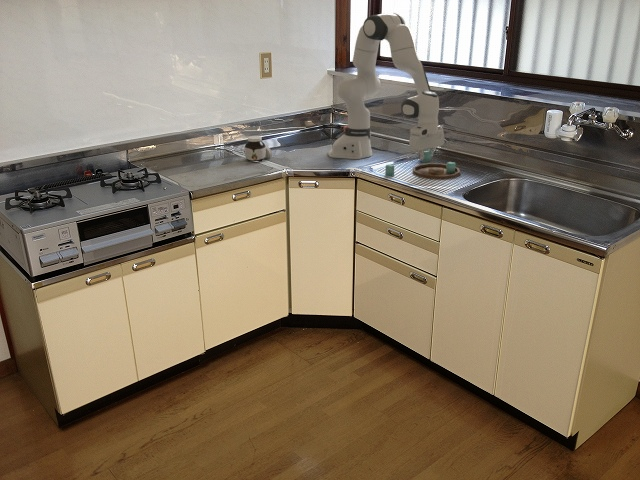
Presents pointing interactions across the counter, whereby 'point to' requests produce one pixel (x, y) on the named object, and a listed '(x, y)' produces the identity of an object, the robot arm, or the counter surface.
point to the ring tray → (434, 171)
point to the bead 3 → (450, 167)
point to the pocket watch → (431, 159)
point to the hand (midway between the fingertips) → (426, 158)
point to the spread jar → (256, 149)
